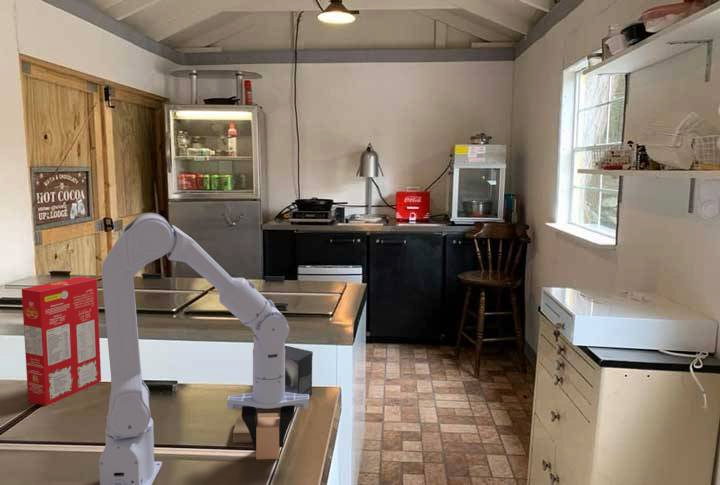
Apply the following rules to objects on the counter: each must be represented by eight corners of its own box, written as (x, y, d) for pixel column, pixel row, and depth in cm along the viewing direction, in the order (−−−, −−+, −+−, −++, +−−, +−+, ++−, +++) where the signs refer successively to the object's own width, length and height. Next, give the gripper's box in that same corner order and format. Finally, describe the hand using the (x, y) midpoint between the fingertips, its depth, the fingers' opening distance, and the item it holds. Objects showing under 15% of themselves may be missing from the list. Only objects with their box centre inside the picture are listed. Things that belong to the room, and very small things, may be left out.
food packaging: (84, 377, 129) (79, 276, 126) (101, 381, 128) (97, 278, 124) (28, 401, 116) (21, 289, 112) (46, 405, 114) (39, 291, 111)
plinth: (275, 442, 102) (275, 432, 101) (232, 442, 101) (232, 432, 101) (278, 422, 109) (278, 413, 109) (238, 422, 109) (238, 413, 108)
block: (278, 458, 96) (279, 427, 95) (256, 459, 95) (256, 427, 95) (280, 447, 100) (280, 417, 99) (258, 447, 99) (258, 417, 98)
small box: (259, 394, 123) (259, 350, 121) (276, 384, 129) (276, 342, 127) (297, 404, 118) (297, 359, 117) (313, 394, 124) (313, 350, 122)
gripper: (309, 365, 100) (308, 433, 102) (231, 365, 99) (231, 434, 101) (309, 380, 93) (308, 452, 95) (225, 380, 92) (225, 454, 94)
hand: (268, 444), depth 97 cm, fingers closed on block, 4 cm apart
